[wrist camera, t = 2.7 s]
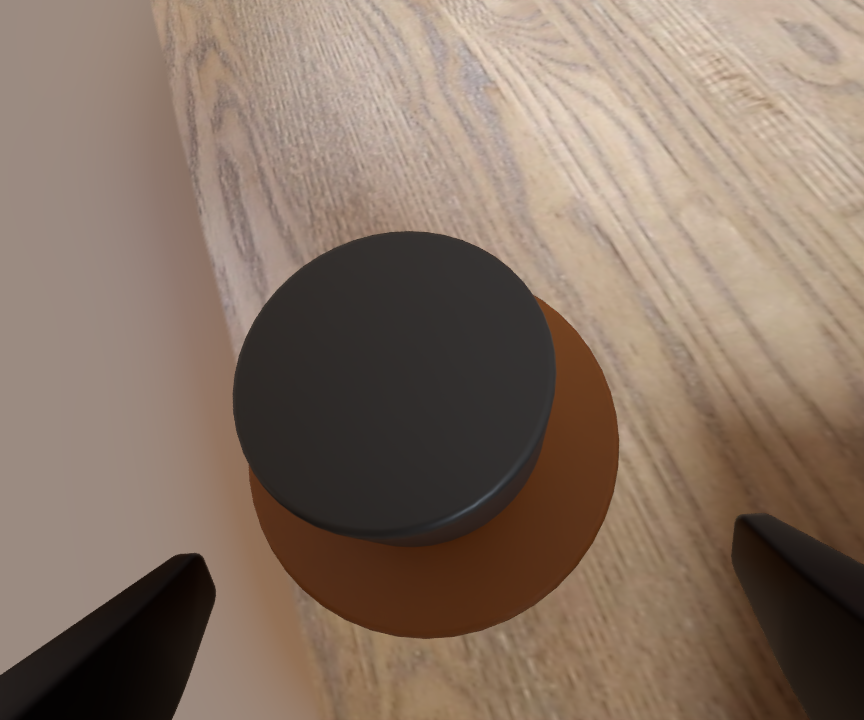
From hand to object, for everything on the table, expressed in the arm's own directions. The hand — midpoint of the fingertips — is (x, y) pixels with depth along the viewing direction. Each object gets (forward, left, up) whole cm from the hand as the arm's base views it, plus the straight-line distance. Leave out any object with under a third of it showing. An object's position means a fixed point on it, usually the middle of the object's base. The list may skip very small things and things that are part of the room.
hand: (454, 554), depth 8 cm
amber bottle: (+1, 0, -9) cm, 9 cm away
